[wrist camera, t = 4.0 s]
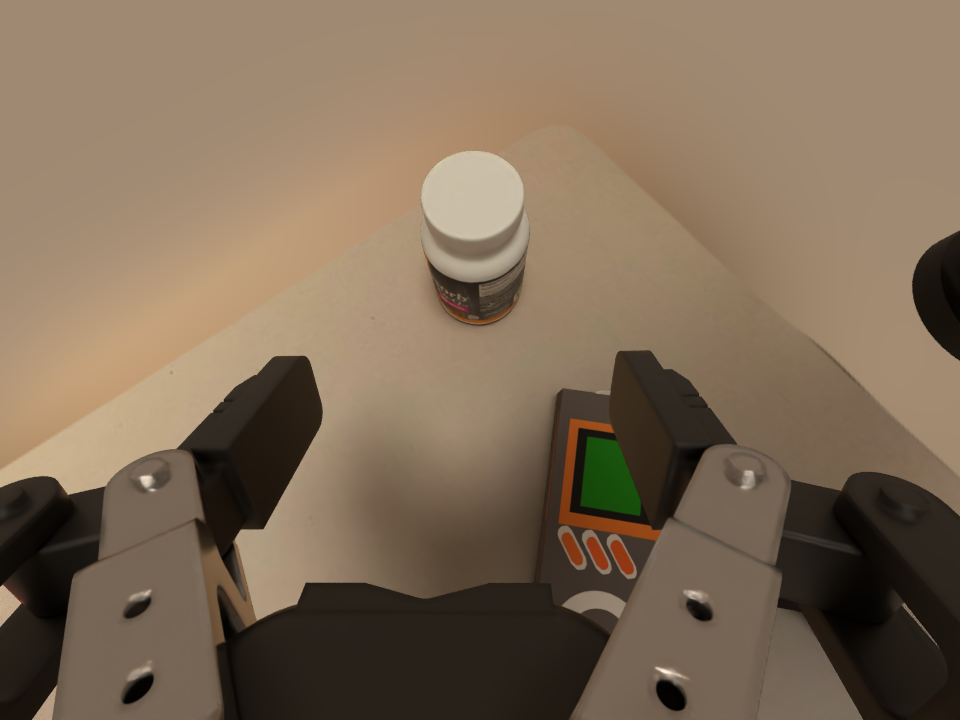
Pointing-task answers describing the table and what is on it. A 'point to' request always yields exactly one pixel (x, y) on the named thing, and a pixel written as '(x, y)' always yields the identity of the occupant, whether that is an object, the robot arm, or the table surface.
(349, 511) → the table surface
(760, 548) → the robot arm
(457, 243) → the pill bottle
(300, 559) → the table surface
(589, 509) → the electronic device
